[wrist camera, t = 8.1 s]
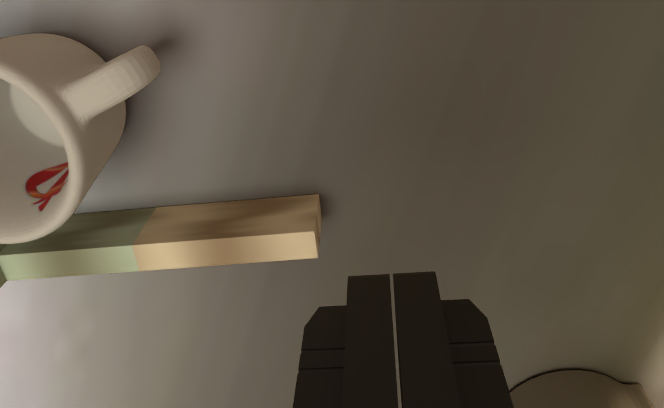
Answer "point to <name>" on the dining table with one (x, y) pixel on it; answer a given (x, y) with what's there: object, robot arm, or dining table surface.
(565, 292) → the dining table surface
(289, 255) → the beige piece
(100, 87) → the cup
